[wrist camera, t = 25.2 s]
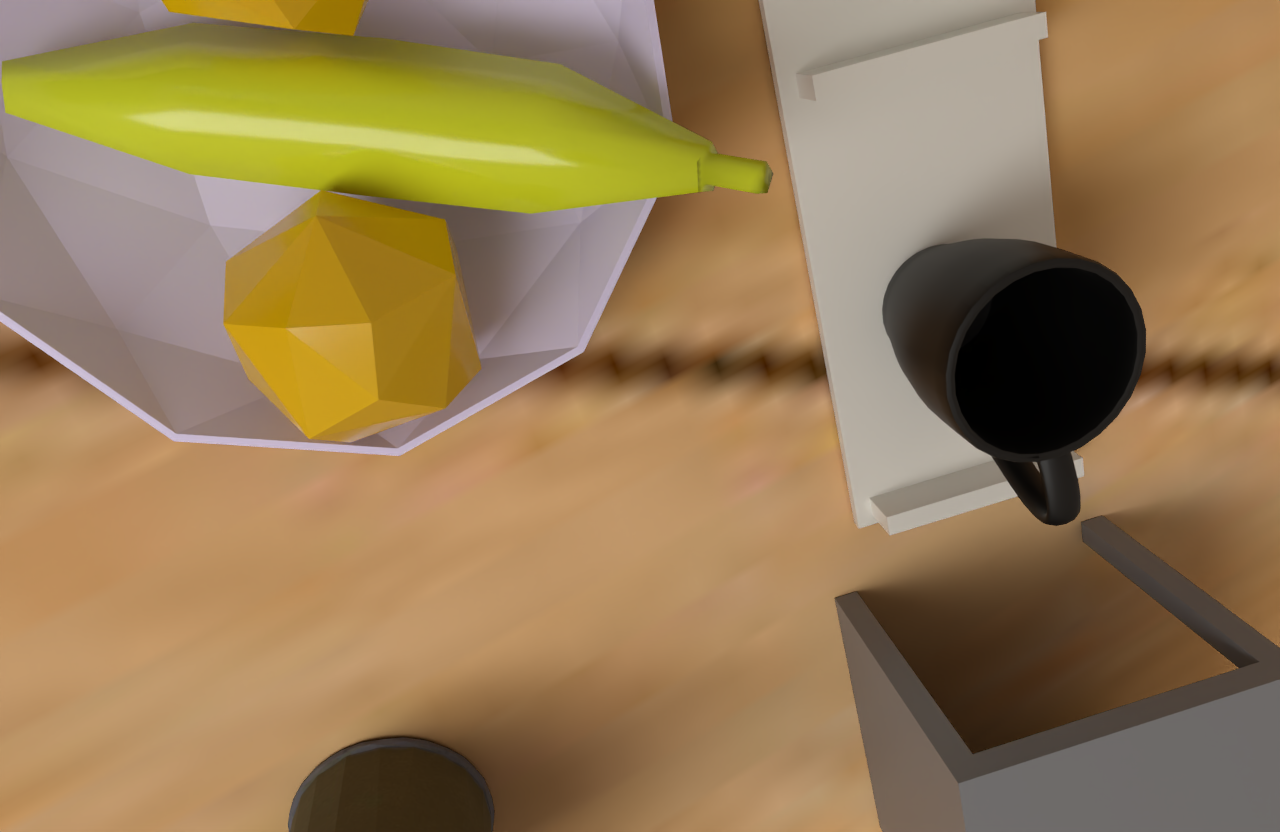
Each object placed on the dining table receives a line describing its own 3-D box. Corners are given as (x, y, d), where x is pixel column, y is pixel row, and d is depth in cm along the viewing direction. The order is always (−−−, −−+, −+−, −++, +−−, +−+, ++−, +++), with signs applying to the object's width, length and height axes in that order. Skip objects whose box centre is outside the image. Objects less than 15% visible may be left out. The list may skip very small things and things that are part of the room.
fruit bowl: (-121, 272, 40) (-326, 354, 30) (84, -470, 34) (-88, -700, 23) (529, 508, 48) (548, 638, 38) (797, -50, 42) (911, -80, 31)
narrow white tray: (724, -187, 39) (783, -237, 32) (1004, -258, 40) (1124, -323, 33) (854, 523, 51) (919, 603, 44) (1068, 458, 52) (1166, 526, 45)
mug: (887, 477, 50) (978, 572, 41) (837, 247, 45) (927, 297, 37) (1042, 424, 50) (1165, 506, 42) (1007, 190, 46) (1138, 226, 37)
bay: (834, 598, 53) (958, 783, 40) (1102, 515, 54) (1309, 669, 41) (880, 826, 59) (1000, 1053, 46) (1119, 748, 60) (1305, 948, 47)
